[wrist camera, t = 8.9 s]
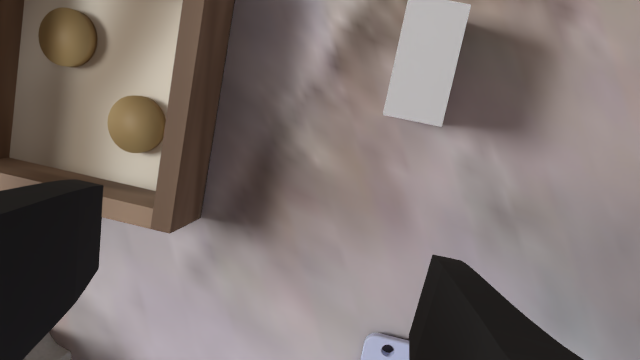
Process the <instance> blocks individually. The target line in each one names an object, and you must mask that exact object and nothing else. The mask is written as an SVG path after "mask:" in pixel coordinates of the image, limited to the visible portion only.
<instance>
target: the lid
mask: <svg viewBox="0 0 640 360" xmlns="http://www.w3.org/2000/svg"><path fill="white" fill-rule="evenodd" d="M470 7H471V4H465V3H459V2H454V1H448V0H408V3H407V7H406V12H405V16H404V21H403V25H402V30H401V34H400V39H399V43H398V48H397V53H396V57H395V62H394V66H393V71H392V75H391V80H390V84H389V89H388V93H387V98H386V102H385V107H384V112H383V115H386V116H391V117H396V118H401V119H406V120H410V121H415V122H420V123H425V124H430V125H434V126H439V127H442V124H443V120H444V116H445V111H446V107H447V103H448V99H449V95H450V91H451V86H452V82H453V78H454V74H455V70H456V66H457V61H458V57H459V53H460V49H461V45H462V40H463V36H464V32H465V28H466V24H467V20H468V15H469V11H470Z"/></svg>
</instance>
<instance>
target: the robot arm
mask: <svg viewBox="0 0 640 360" xmlns="http://www.w3.org/2000/svg"><path fill="white" fill-rule="evenodd" d="M102 202H103V185H101V184H96V183H91V182H86V181H82V180H77V179H70V180H58V181H51V182H45V183H39V184H34V185H28V186H23V187H18V188H13V189H7V190H2V191H0V360H23V359H24V358H25V357H26V356H27V355H28V354H29V353H30V352H31V350H32V349H33V348H34V347H35V346H36V345H37V344H38V343H39V342H40V341H41V340H42V339H43V338H44V337H45V336H46V334H47V333H48V332H49V331H50V330H51V329H52V328H53V327H54V326H55V325H56V324H57V323H58V321H59V320H60V319H61V318H62V317H63V316H64V315H65V314H66V313H67V312H68V311H69V309H70V308H71V307H72V306H73V305H74V304H75V302H76V301H77V300H78V298H79V297H80V295H81V294H82V293H83V291H84V290H85V288H86V287H87V285H88V284H89V282H90V281H91V279H92V278H93V276H94V275H95V273H96V272H97V270H98V268H99V252H100V235H101V219H102ZM384 345H390V346H392V347H393V348H394V350H393V351H392V352H390V353H387V352H385V351H384V350H383V349H382V347H383V346H384ZM361 360H583V359H582V358H580V357H579V356H577V355H576V354H574V353H573V352H571V351H570V350H568V349H567V348H566V347H564V346H563V345H562V344H560V343H559V342H557V341H556V340H555V339H553V338H552V337H551V336H550V335H548V334H547V333H546V332H545V331H543V330H542V329H541V328H540V327H538V326H537V325H536V324H535V323H533V322H532V321H531V320H530V319H528V318H527V317H526V316H525V315H524V314H523V313H521V312H520V311H519V310H518V309H517V308H516V307H514V306H513V305H512V304H511V303H510V302H509V301H508V300H506V299H505V298H504V297H503V296H502V295H501V294H500V293H499V292H498V291H496V290H495V289H494V288H493V287H492V286H491V285H490V284H489V283H488V282H487V281H486V280H484V279H483V278H482V277H481V276H480V275H479V274H478V273H477V272H475V271H474V270H473V269H472V268H471V267H469V266H468V265H467V264H466V263H464V262H463V261H461V260H456V259H451V258H447V257H442V256H437V255H432V259H431V262H430V266H429V269H428V272H427V276H426V279H425V282H424V286H423V289H422V293H421V296H420V299H419V303H418V306H417V310H416V313H415V316H414V320H413V323H412V327H411V330H410V333H409V341H408V340H404V339H400V338H396V337H392V336H389V335H385V334H381V333H372V334H369V335H368V336H367V337H366V339H365V341H364V346H363V350H362V355H361Z"/></svg>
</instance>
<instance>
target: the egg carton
mask: <svg viewBox="0 0 640 360" xmlns="http://www.w3.org/2000/svg"><path fill="white" fill-rule="evenodd" d="M23 360H71V352H70V351H69V350H66V349H64V348H63V347H61V346H59V345H58V344H57V343H56V342H55V341H54V340H53V338H52V337H51V335H50V333H49V332H48V333H47V334H46V336H45V337H44V338H43V339H42V340H41V341H40V342H39V343H38V344H37V345H36V346H35V347H34V348H33V349H32V350H31V352H30V353H29V354H28V355H27V356H26V357H25V358H24V359H23Z"/></svg>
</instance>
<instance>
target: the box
mask: <svg viewBox="0 0 640 360" xmlns="http://www.w3.org/2000/svg"><path fill="white" fill-rule="evenodd" d="M234 2H235V0H0V191H2V190H7V189H13V188H18V187H23V186H28V185H34V184H39V183H45V182H51V181H58V180H70V179H77V180H82V181H86V182H91V183H96V184H101V185H103V202H102V217H103V218H108V219H112V220H116V221H120V222H124V223H128V224H133V225H137V226H141V227H145V228H149V229H153V230H158V231H162V232H166V233H172V232H174V231H176V230H178V229H180V228H182V227H184V226H185V225H187V224H189V223H191V222H193V221H195V220H197V219H199V218H201V211H202V205H203V199H204V192H205V186H206V180H207V173H208V167H209V161H210V154H211V148H212V142H213V135H214V129H215V122H216V116H217V110H218V103H219V97H220V91H221V84H222V78H223V72H224V65H225V59H226V52H227V46H228V40H229V33H230V27H231V21H232V14H233V8H234Z"/></svg>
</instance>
